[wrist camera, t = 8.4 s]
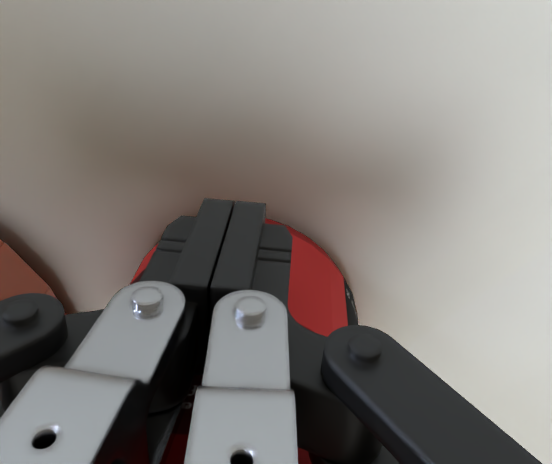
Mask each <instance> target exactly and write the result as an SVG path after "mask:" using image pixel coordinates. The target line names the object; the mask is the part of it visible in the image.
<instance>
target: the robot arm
mask: <svg viewBox="0 0 552 464" xmlns="http://www.w3.org/2000/svg"><path fill="white" fill-rule="evenodd" d="M265 216H266V204H265V203H254V202H243V201H236V203H235V201H231V200H220V199H209V198H205V199H204V200H203V203H202V205H201V207H200V210H199V212H198V214H197V217H190V216H180V217H179V218H177V219H176V220H175V221H173V222H172V223H170V224H169V225H168V226H167V227H166V229H165V231H164V233H163V235H162V237H161V240H160V241H159V243H158V245H157V247H156V251H154V253H153V255H152V257H151V259H150V261H149V263H148V265H147V267H146V269H145V271H144V273H143V275H142V276H141V278H140V280H139V282H137V283H134V284H131V285H128V286H126V287H124V288H122V289H121V290H119V291H118V292H117V293H116V294H115V295H114V296H113V297H112V299H111V300H110V302H109V303H108V305H107V306H106V307H105V309H102V310H97V311H91V312H83V313H75V314H66V315H65V313H64V308H63V305H62V303H61V302H60V301H59V300H58V299H57V298H55V297H53V296H51V295H47V294H42V293H26V294H20V295H16V296H12V297H9V298H6V299H4V300H1V301H0V464H165V463H166V460H167V457H168V455H169V452H170V449H171V446H172V444H173V441H174V438H175V436H176V433H177V430H178V428H179V425H180V422H181V419H182V417H183V414H184V411H185V409H186V406H187V402H188V393H189V390H190V387H191V384H192V380H193V376H194V375H203V380H202V386H200V385H199V386H198V387H197V390H196V394H195V400H194V406H193V412H192V418H191V424H190V430H189V436H188V442H187V448H186V454H185V460H184V464H298V450H297V447H299V448H301V449H304V450H306V451H308V452H309V458H310V461H311V463H312V464H542V463H541V462H540V461H539V460H537V459H536V458H535V457H534V456H533V455H531V454H530V453H529V452H528V451H527V450H525V449H524V448H523V447H522V446H521V445H519V444H518V443H517V442H516V441H515V440H514V439H512V438H511V437H510V436H509V435H508V434H506V433H505V432H504V431H503V430H502V429H500V428H499V427H498V426H497V425H496V424H494V423H493V422H492V421H491V420H490V419H488V418H487V417H486V416H485V415H484V414H482V413H481V412H480V411H479V410H478V409H476V408H475V407H474V406H473V405H472V404H470V403H469V402H468V401H467V400H466V399H465V398H463V397H462V396H461V395H460V394H459V393H457V392H456V391H455V390H454V389H453V388H451V387H450V386H449V385H448V384H447V383H445V382H444V381H443V380H442V379H441V378H439V377H438V376H437V375H436V374H435V373H433V372H432V371H431V370H430V369H429V368H427V367H426V366H425V365H424V364H423V363H422V362H420V361H419V360H418V359H417V358H416V357H414V356H413V355H412V354H411V353H410V352H408V351H407V350H406V349H405V348H404V347H402V346H401V345H400V344H399V343H398V342H396V341H395V340H394V339H393V338H392V337H390V336H389V335H387V334H386V333H384V332H382V331H380V330H378V329H375V328H372V327H368V326H362V325H349V326H344V327H341V328H338V329H336V330H335V331H333V332H332V333H331V334H330V335H329V336H328V337H327V336H324V335H321V334H318V333H315V332H313V331H310V330H308V329H306V328H305V327H303V326H302V325H300V324H299V323H298V322H297V321H296V320H295V319H294V318H293V317H292V315H291V314H290V312H289V309H288V293H289V280H290V267H291V254H292V241H293V237H292V235H291V234H290V232H289V230H288V229H287V227H286V226H285V225H278V224H267V223H265Z"/></svg>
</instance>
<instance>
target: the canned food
mask: <svg viewBox="0 0 552 464" xmlns="http://www.w3.org/2000/svg"><path fill="white" fill-rule="evenodd" d="M265 223H267V224H278V225H284V224H281V223H279V222H276V221H273V220H270V219H267V218H265ZM285 226H286V227H287V229H288V230H289V232H290V234H291V235H292V237H293V241H292V254H291V267H290V280H289V293H288V309H289V312H290V314H291V315H292V317H293V318H294V319H295V320H296V321H297V322H298V323H299V324H300V325H302V326H303V327H305V328H306V329H308V330H310V331H313V332H315V333H318V334H321V335H324V336H327V337H328V336H329V335H330V334H331V333H332V332H333V331H335V330H336V329H338V328H341V327H344V326H349V325H358V317H357V310H356V306H355V302H354V298H353V294H352V292H351V290H350V288H349V286H348V285H347V283H346V281H345V279H344V277H343V275H342V274H341V272H340V271H339V269H338V267H337V266H336V264H335V263H334V262H333V261H332V260H331V258H330V257H329V256H328V255H327V254H326V252H325V251H324V250H323V249H322V248H321V247H319V246H318V245H317V244H316V243H315V242H313V241H312V240H311V239H310V238H308V237H307V236H305V235H304V234H302V233H300V232H298V231H296V230H295V229H293V228H291V227H289V226H287V225H285ZM157 245H158V244H156V245H155V246H154V248H153V249H152V250H151V251H150V252H149V253H148V254H147V255H146V256H145V257H144V259H143V261H142V263H141V264H140V266H139V268H138V270H137V272H136V274H135V276H134V277H133V279H132V281H131V283H130V285H131V284H134V283H137V282H139V280H140V278H141V276H142V275H143V273H144V271H145V269H146V267H147V265H148V263H149V261H150V259H151V257H152V255H153V253H154V251H156V247H157ZM202 380H203V375H194V376H193V380H192V384H191V387H190V390H189V393H188V402H187V406H186V409H185V411H184V414H183V417H182V419H181V422H180V425H179V428H178V430H177V433H176V436H175V438H174V441H173V444H172V446H171V449H170V452H169V455H168V457H167V460H166V463H165V464H184V460H185V454H186V448H187V442H188V436H189V430H190V424H191V418H192V412H193V406H194V400H195V394H196V390H197V387H198V386H199V385H200V386H202ZM297 450H298V464H312V463H311V461H310V458H309V452H308V451H306V450H304V449H301V448H299V447H297Z"/></svg>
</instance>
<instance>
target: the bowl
mask: <svg viewBox="0 0 552 464" xmlns="http://www.w3.org/2000/svg"><path fill="white" fill-rule="evenodd" d="M26 293H42V294H47V295H51V296H53V297H55V298H56V296H55V294H54V293H53V291H52V289H51V288H50V287H49V285H48V284H47V283H46V282H45V281H44V280H43V279H42V278H41V277H40V276H39V275H38V274H37V273H36V272H35V271H34V270H33V269H32V268H31V267H30V266H29V265H28V264H27V263H26V262H25V261H24V260H23V259H22V258H21V257H19V256H18V255H17V254H16V253H15V252H14V251H13V250H12V249H11V248H10V247H9V246H8V245H7V244H6V243H4V242H3V241H2V240H0V301H1V300H4V299H6V298H9V297H12V296H16V295H20V294H26ZM64 313H65V312H64ZM65 315H66V314H65Z"/></svg>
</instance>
